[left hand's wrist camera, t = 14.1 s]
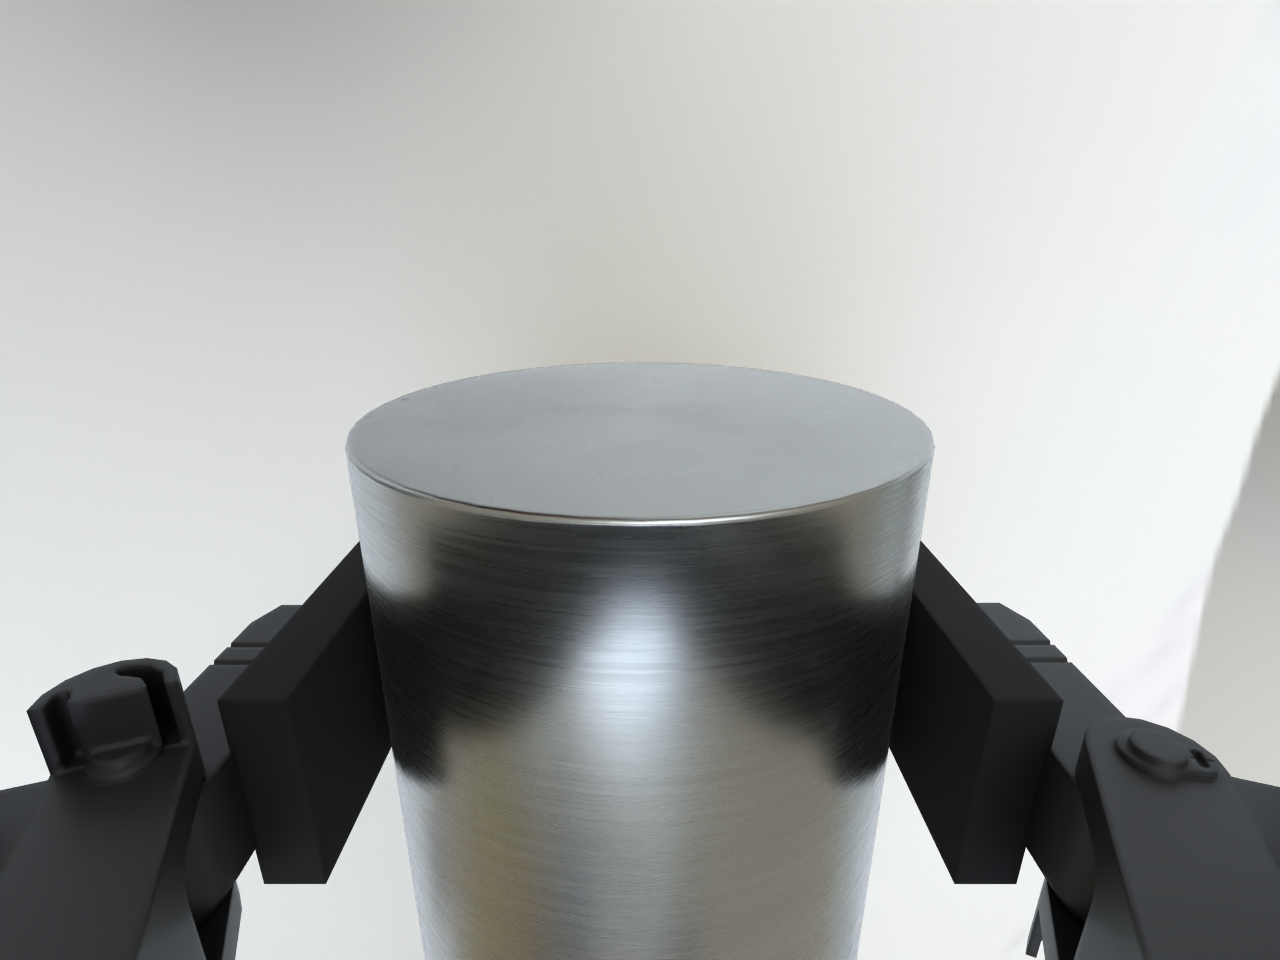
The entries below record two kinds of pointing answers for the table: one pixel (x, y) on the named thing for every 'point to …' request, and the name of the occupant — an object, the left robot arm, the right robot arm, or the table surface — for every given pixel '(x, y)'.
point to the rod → (640, 653)
